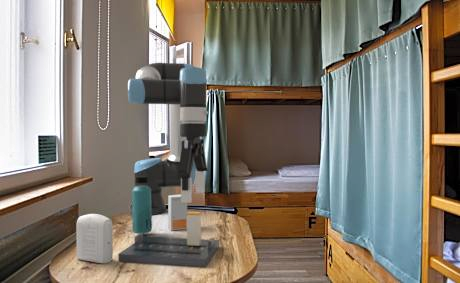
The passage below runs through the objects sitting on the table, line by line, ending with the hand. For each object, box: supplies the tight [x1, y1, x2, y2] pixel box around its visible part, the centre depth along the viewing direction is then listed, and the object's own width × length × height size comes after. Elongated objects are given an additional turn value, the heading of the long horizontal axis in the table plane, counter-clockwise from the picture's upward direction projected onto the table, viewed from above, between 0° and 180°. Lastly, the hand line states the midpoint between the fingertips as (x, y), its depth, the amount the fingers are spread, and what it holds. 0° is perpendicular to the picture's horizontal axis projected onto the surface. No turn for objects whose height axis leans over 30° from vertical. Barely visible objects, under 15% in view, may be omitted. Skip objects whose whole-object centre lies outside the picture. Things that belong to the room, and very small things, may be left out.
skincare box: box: [167, 194, 188, 232], centre depth 122 cm, size 6×4×12 cm
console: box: [117, 234, 220, 268], centre depth 96 cm, size 16×24×4 cm, turn 79°
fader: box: [186, 211, 202, 246], centre depth 97 cm, size 2×4×9 cm, turn 79°
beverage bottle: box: [131, 176, 153, 235], centre depth 114 cm, size 6×7×20 cm
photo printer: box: [75, 213, 114, 264], centre depth 92 cm, size 10×4×12 cm, turn 69°
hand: (193, 197), depth 97 cm, fingers open, 13 cm apart
